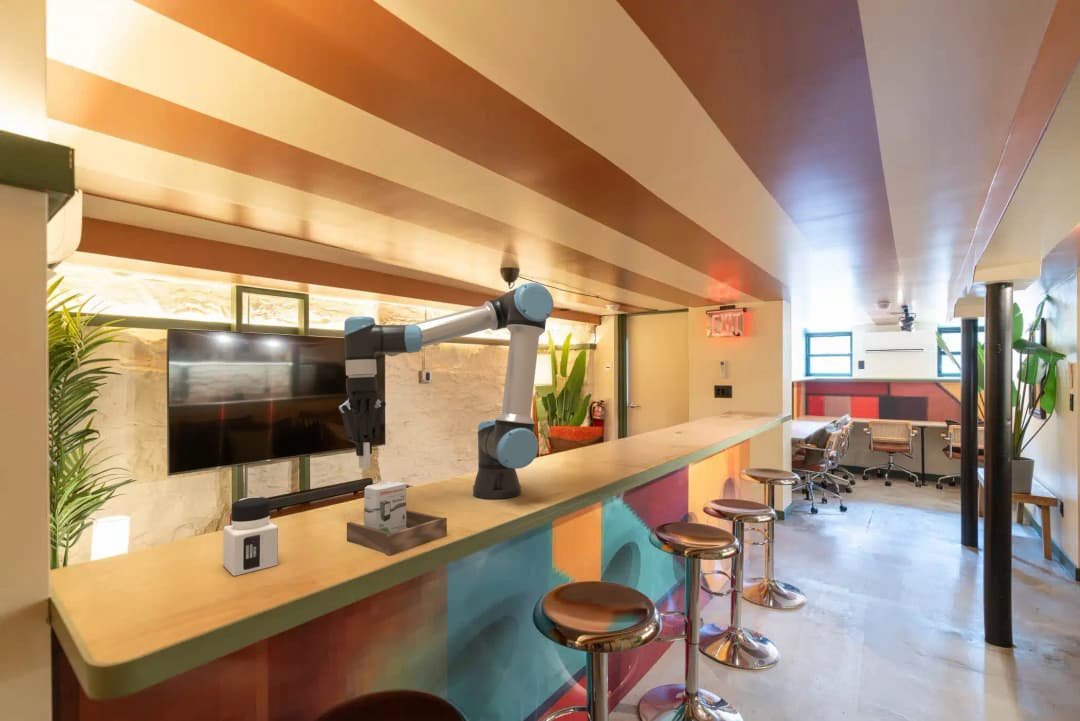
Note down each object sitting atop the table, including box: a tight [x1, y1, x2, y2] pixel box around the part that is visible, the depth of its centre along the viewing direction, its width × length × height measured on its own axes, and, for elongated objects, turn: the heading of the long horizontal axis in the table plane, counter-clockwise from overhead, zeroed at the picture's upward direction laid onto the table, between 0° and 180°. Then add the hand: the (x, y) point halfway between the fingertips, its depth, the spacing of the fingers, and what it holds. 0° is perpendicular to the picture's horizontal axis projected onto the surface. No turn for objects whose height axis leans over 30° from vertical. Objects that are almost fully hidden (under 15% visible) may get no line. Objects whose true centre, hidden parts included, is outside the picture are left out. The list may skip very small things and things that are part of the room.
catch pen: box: [346, 509, 448, 557], centre depth 112 cm, size 16×16×4 cm
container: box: [222, 496, 279, 577], centre depth 97 cm, size 8×8×13 cm
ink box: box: [363, 480, 407, 533], centre depth 115 cm, size 9×5×12 cm, turn 143°
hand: (364, 468), depth 127 cm, fingers closed
